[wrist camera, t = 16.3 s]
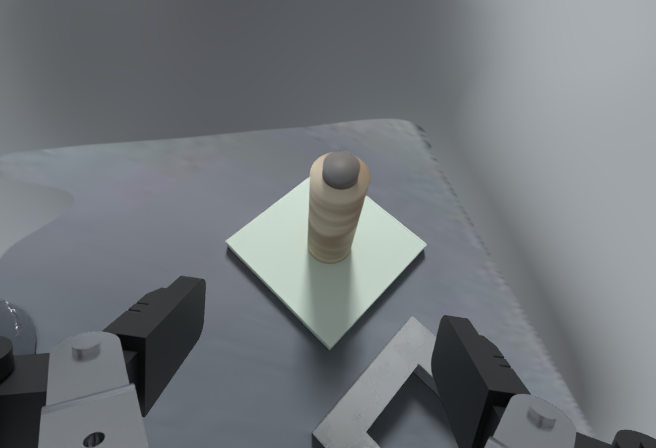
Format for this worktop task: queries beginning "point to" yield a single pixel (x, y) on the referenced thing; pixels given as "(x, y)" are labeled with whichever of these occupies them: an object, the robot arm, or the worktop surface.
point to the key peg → (335, 204)
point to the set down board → (320, 278)
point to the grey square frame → (378, 387)
